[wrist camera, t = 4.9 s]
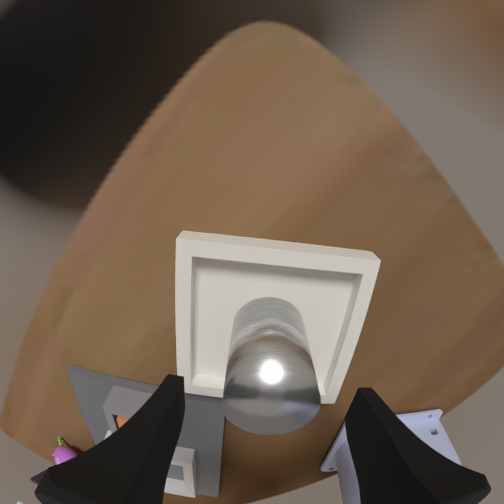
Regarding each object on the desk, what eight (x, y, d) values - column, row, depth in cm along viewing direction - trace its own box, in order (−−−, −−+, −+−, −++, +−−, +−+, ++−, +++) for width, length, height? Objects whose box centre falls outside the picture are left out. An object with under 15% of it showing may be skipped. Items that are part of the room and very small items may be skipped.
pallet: (226, 396, 19) (222, 429, 16) (219, 491, 25) (216, 513, 22) (71, 364, 19) (54, 389, 16) (112, 469, 24) (104, 489, 22)
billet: (309, 300, 16) (331, 374, 11) (296, 358, 18) (308, 436, 12) (235, 293, 16) (224, 367, 11) (230, 352, 17) (220, 430, 12)
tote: (371, 251, 16) (380, 260, 14) (330, 389, 19) (334, 403, 18) (183, 230, 16) (176, 238, 14) (182, 377, 19) (178, 391, 17)
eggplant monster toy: (34, 486, 18) (77, 505, 16) (12, 447, 19) (49, 460, 17) (71, 465, 25) (117, 474, 23) (52, 429, 25) (96, 433, 23)
